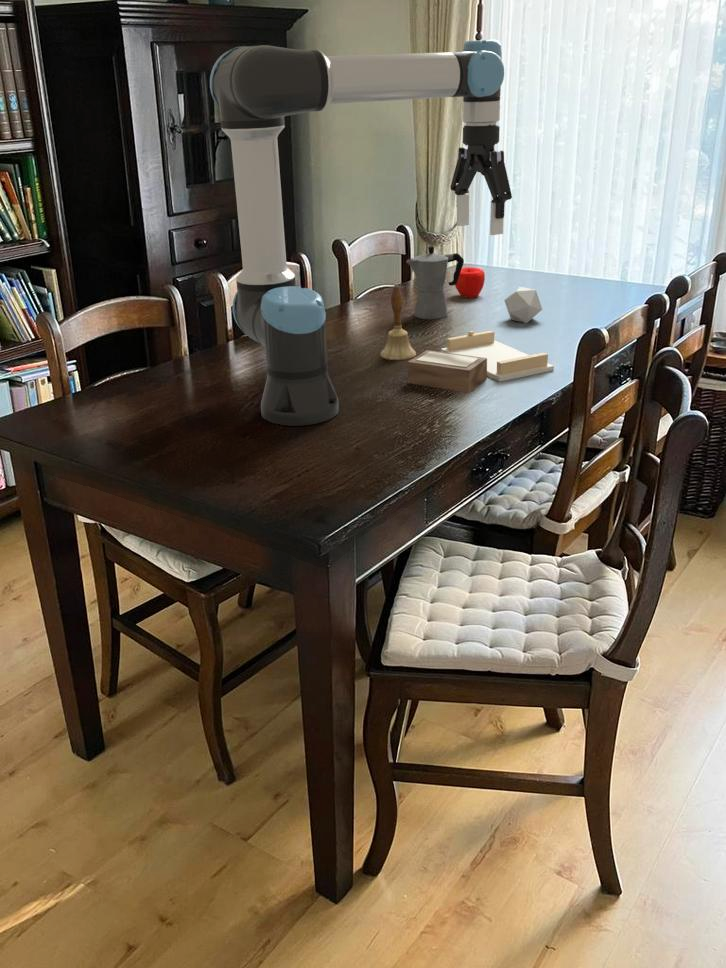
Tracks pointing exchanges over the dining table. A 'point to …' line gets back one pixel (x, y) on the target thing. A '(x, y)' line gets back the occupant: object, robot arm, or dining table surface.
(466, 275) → the apple
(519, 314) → the die
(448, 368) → the frame
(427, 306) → the coffeepot
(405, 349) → the hand bell
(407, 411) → the dining table surface
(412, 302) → the dining table surface
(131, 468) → the dining table surface
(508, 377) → the wall panel
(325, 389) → the robot arm
